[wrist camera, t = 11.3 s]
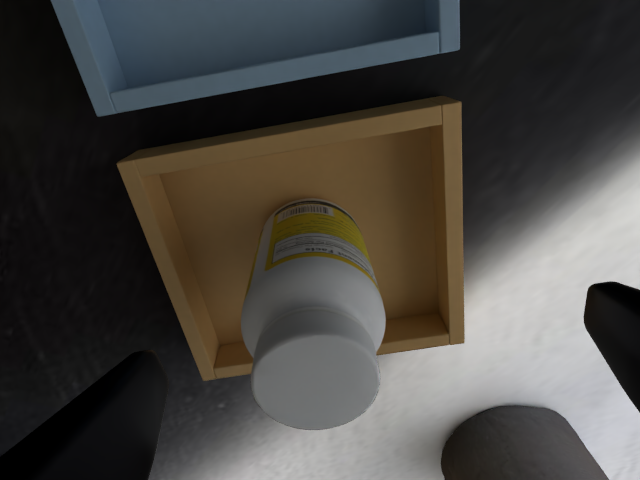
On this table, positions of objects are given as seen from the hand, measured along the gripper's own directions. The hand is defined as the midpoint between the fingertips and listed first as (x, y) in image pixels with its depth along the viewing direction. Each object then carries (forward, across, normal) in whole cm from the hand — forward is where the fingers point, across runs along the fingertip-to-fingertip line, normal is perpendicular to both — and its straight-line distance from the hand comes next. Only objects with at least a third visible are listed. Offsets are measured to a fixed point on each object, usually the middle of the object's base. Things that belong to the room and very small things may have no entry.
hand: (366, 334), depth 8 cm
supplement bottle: (+12, +2, +4) cm, 13 cm away
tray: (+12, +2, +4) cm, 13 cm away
